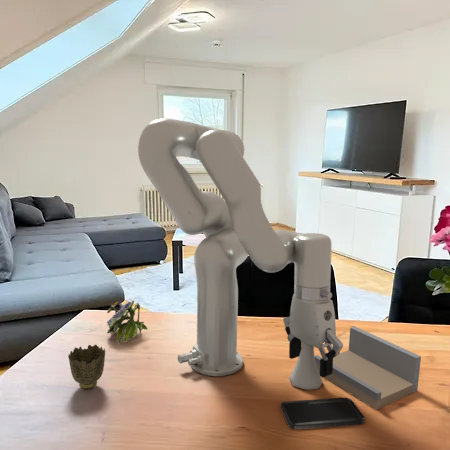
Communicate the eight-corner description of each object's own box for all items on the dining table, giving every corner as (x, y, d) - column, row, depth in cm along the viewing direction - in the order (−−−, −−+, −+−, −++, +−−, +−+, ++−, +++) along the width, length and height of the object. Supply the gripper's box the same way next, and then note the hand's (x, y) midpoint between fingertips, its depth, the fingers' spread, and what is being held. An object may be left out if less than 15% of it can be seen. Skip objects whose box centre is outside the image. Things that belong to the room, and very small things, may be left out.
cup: (104, 375, 95) (103, 342, 94) (108, 392, 88) (107, 357, 87) (69, 381, 93) (67, 347, 91) (70, 399, 86) (68, 363, 84)
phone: (367, 420, 80) (290, 426, 78) (366, 426, 80) (290, 431, 78) (349, 396, 88) (279, 401, 85) (349, 401, 88) (278, 406, 86)
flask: (322, 393, 90) (325, 349, 88) (288, 388, 92) (290, 345, 90) (321, 375, 97) (324, 334, 95) (290, 371, 99) (292, 331, 97)
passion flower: (114, 351, 118) (112, 309, 123) (153, 344, 118) (149, 302, 123) (101, 345, 108) (99, 299, 113) (143, 337, 108) (140, 292, 113)
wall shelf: (376, 409, 85) (379, 372, 83) (312, 370, 99) (314, 338, 98) (417, 390, 92) (421, 356, 90) (352, 356, 107) (354, 326, 105)
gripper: (355, 299, 85) (352, 378, 88) (297, 278, 100) (296, 347, 103) (329, 306, 81) (326, 388, 84) (272, 284, 96) (272, 354, 99)
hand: (310, 365), depth 93 cm, fingers open, 9 cm apart
